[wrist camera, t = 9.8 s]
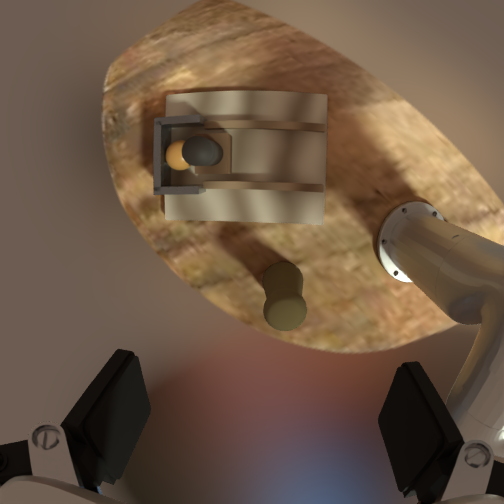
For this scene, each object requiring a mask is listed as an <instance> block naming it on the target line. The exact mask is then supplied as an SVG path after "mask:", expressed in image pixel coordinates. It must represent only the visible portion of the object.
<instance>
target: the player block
mask: <svg viewBox="0 0 504 504" xmlns="http://www.w3.org/2000/svg"><path fill="white" fill-rule="evenodd" d="M182 157H183V159H184V160H185V162H186V163H188V164H189V165H192V166H195V174H231V173H232V136H231V135H230V134H229V133H206V134H195V136H192V137H190V138H188V139H187V140H186V141H185V142H184V144H183V146H182Z"/></svg>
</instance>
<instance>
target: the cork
mask: <svg viewBox="0 0 504 504" xmlns="http://www.w3.org/2000/svg"><path fill="white" fill-rule="evenodd" d="M263 286H264V290H265V294H266V298H267V299H266V301H265V303H264V310H263V313H264V317H265V319H266V321H267V322H268V324H269V325H270V326H271V327H273V328H274V329H277V330H280V331H289V330H293V329H295V328H297V327H298V326H300V325H301V324H302V323H303V321H304V319H305V317H306V313H307V307H306V302H305V300H304V299H303V297H302V289H303V276H302V273H301V271H300V270H299V269H298V268H297V267H296V266H295V265H293V264H291V263H288V262H279V263H275V264H273V265H271V266H270V267H269V268H268V269H267V270H266V272H265V274H264V276H263Z"/></svg>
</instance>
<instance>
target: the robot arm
mask: <svg viewBox="0 0 504 504" xmlns="http://www.w3.org/2000/svg"><path fill="white" fill-rule="evenodd" d="M402 209H403V211H402ZM432 213H433V214H432ZM383 239H384V241H383V242H382V240H383ZM377 251H378V256H379V259H380V262H381V264H382V266H383V267H384V269H385V270H386V271H387V272H388V273H389V274H390V275H391V276H392V277H393V278H395V279H397V280H399V281H402V282H413V283H414V284H415V285H416V286H417V287H418V288H420V289H421V290H422V291H423V292H424V293H425V294H426V295H427V296H428V297H429V298H430V299H431V300H432V301H433V302H434V303H435V304H436V305H437V306H438V307H439V308H440V309H441V310H442V311H443V312H444V313H445V314H446V315H447V316H449V317H450V318H451V319H452V320H454V321H456V322H458V323H460V324H465V325H477V324H481V327H480V330H479V333H478V335H477V337H476V339H475V342H474V345H473V348H472V350H471V352H470V354H469V356H468V358H467V360H466V362H465V364H464V366H463V368H462V370H461V372H460V374H459V376H458V378H457V380H456V381H455V383H454V385H453V387H452V389H451V391H450V393H449V396H448V398H447V401H446V405H445V404H444V403H443V401H442V399H441V398H440V396H439V394H438V392H437V391H436V389H435V387H434V386H433V384H432V382H431V381H430V379H429V377H428V376H427V374H426V373H425V371H424V369H423V368H422V366H421V365H420V363H419V362H417V361H415V362H405V363H403V364H402V365H401V367H398V368H397V371H396V374H395V376H394V379H393V382H392V385H391V387H390V390H389V392H388V395H387V398H386V400H385V402H384V405H383V408H382V410H381V412H380V414H379V418H378V424H379V427H380V430H381V434H382V437H383V440H384V443H385V446H386V449H387V452H388V456H389V459H390V462H391V466H392V469H393V473H394V476H395V479H396V483H397V486H398V490H399V491H400V492H403V495H404V498H406V497H410V496H413V495H417V498H418V502H417V504H504V463H500V462H498V461H495V460H494V455H496V456H499V457H502V458H504V246H503V245H500V244H498V243H495V242H493V241H491V240H489V239H486V238H484V237H482V236H479V235H477V234H475V233H472V232H470V231H468V230H465V229H463V228H461V227H458V226H456V225H453V224H451V223H448V222H446V221H444V219H443V217H442V215H441V214H440V213H439V211H438V210H437V209H435V208H434V207H433V206H431V205H429V204H427V203H424V202H419V201H411V202H407V203H404V204H401V205H400V206H398V207H396V208H395V209H394V210H393V211H392V212H390V213H389V215H388V216H387V217H386V219H385V220H384V222H383V224H382V226H381V228H380V231H379V235H378V241H377ZM394 271H395V272H394ZM150 411H151V406H150V402H149V399H148V395H147V391H146V387H145V384H144V379H143V375H142V371H141V367H140V362H139V358H138V357H137V356H135V355H134V353H133V352H132V351H127V350H122V349H117V350H116V351H115V353H114V354H113V355H112V357H111V358H110V359H109V361H108V362H107V363H106V364H105V366H104V367H103V368H102V370H101V371H100V372H99V374H98V375H97V376H96V378H95V379H94V380H93V381H92V382H91V384H90V385H89V386H88V388H87V389H86V390H85V392H84V393H83V394H82V396H81V397H80V399H79V400H78V401H77V403H76V404H75V406H74V407H73V408H72V410H71V411H70V412H69V414H68V415H67V417H66V418H65V419H64V421H63V422H62V423H61V425H58V424H56V423H54V422H50V421H49V422H41V423H38V424H37V425H35V426H34V427H33V428H32V429H31V430H30V432H29V434H28V440H24V441H20V442H14V443H9V444H4V445H0V504H128V503H124V502H121V501H118V500H115V499H112V498H109V497H106V496H103V494H102V492H101V489H100V487H99V486H100V485H101V483H102V481H104V482H107V483H110V484H113V485H114V483H115V481H116V479H120V478H121V477H122V474H123V472H124V470H125V468H126V466H127V463H128V461H129V459H130V456H131V455H132V452H133V450H134V448H135V445H136V443H137V441H138V439H139V437H140V435H141V432H142V430H143V428H144V426H145V424H146V422H147V419H148V417H149V415H150Z"/></svg>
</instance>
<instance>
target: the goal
mask: <svg viewBox="0 0 504 504" xmlns="http://www.w3.org/2000/svg"><path fill="white" fill-rule="evenodd" d="M204 121H207V119H206V118H205V117H203V116H202V115H200V114H197V115H182V116H169V117H158V118H154V149H153V180H154V195H186V194H201V193H204V192H206V189H203V184H186V185H171V167H170V166H169V165H168V163H167V161H166V157H165V154H166V150H167V148H168V147H169V145H170V144H171V132H172V128H182V127H201V126H204Z"/></svg>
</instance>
